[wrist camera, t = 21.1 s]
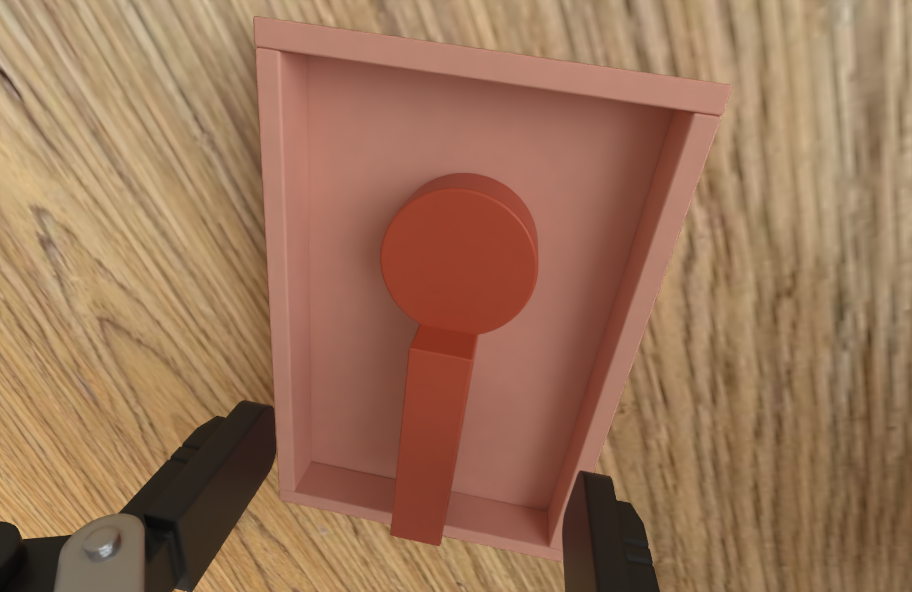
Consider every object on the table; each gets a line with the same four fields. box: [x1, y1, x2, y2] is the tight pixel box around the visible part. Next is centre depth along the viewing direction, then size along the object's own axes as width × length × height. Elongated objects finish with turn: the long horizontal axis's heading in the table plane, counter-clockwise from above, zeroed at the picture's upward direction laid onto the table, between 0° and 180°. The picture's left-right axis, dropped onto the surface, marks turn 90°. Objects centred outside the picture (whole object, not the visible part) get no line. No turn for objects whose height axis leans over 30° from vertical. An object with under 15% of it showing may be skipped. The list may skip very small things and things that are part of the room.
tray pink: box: [253, 16, 732, 562], centre depth 14 cm, size 15×10×2 cm
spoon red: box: [380, 173, 538, 546], centre depth 14 cm, size 11×4×3 cm, turn 173°
